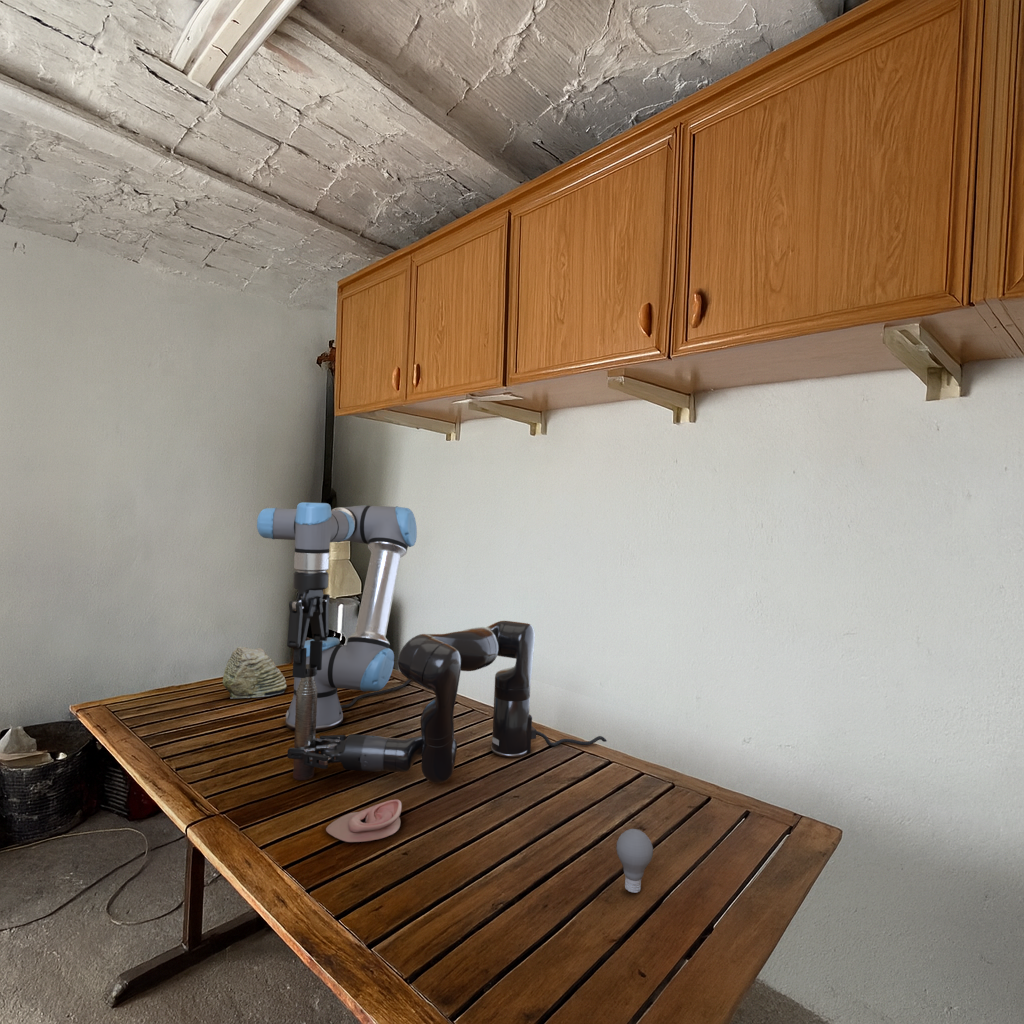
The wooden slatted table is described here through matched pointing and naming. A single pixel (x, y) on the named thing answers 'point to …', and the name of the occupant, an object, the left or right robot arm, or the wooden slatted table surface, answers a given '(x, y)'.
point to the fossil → (252, 674)
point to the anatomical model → (368, 823)
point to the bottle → (305, 725)
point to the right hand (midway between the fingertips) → (293, 748)
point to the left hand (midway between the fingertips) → (307, 673)
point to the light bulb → (634, 857)
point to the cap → (311, 670)
